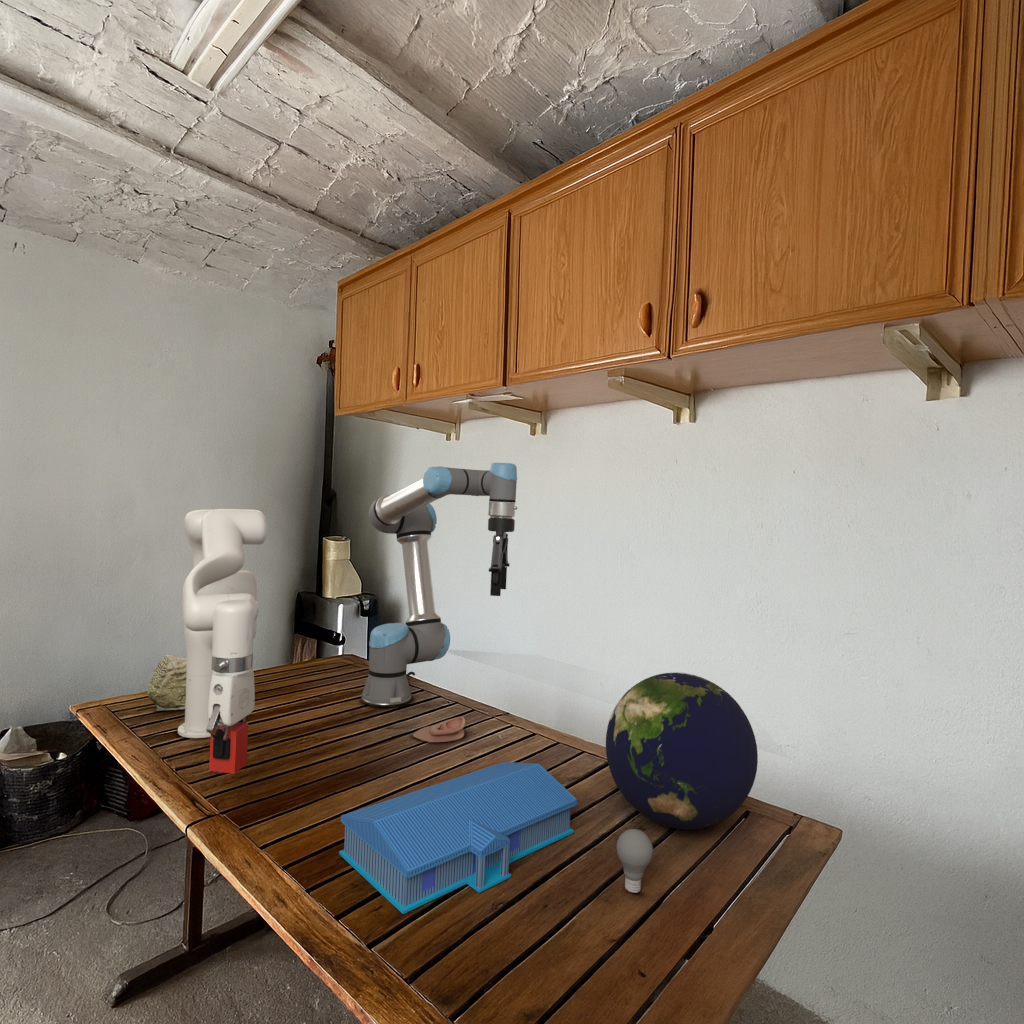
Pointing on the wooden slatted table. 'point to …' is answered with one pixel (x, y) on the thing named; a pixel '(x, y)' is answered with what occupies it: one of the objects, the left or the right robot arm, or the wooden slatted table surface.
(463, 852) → the model building
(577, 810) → the wooden slatted table surface
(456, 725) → the anatomical model
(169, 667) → the fossil
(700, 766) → the globe
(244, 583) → the left robot arm
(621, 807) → the wooden slatted table surface
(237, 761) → the brick
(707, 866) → the wooden slatted table surface
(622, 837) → the light bulb
